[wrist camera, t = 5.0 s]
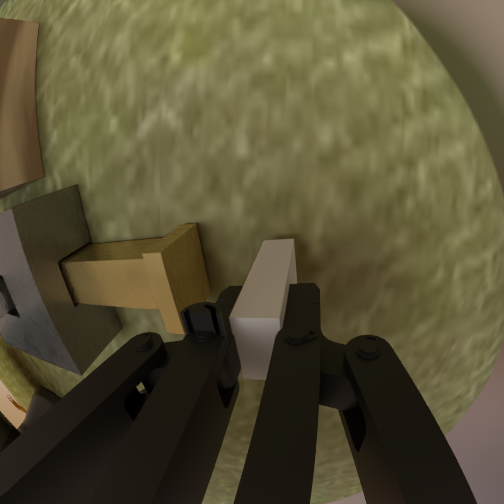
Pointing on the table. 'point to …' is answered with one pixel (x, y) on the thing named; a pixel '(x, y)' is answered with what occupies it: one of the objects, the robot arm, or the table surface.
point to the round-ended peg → (5, 299)
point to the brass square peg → (141, 274)
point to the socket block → (50, 284)
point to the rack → (18, 106)
